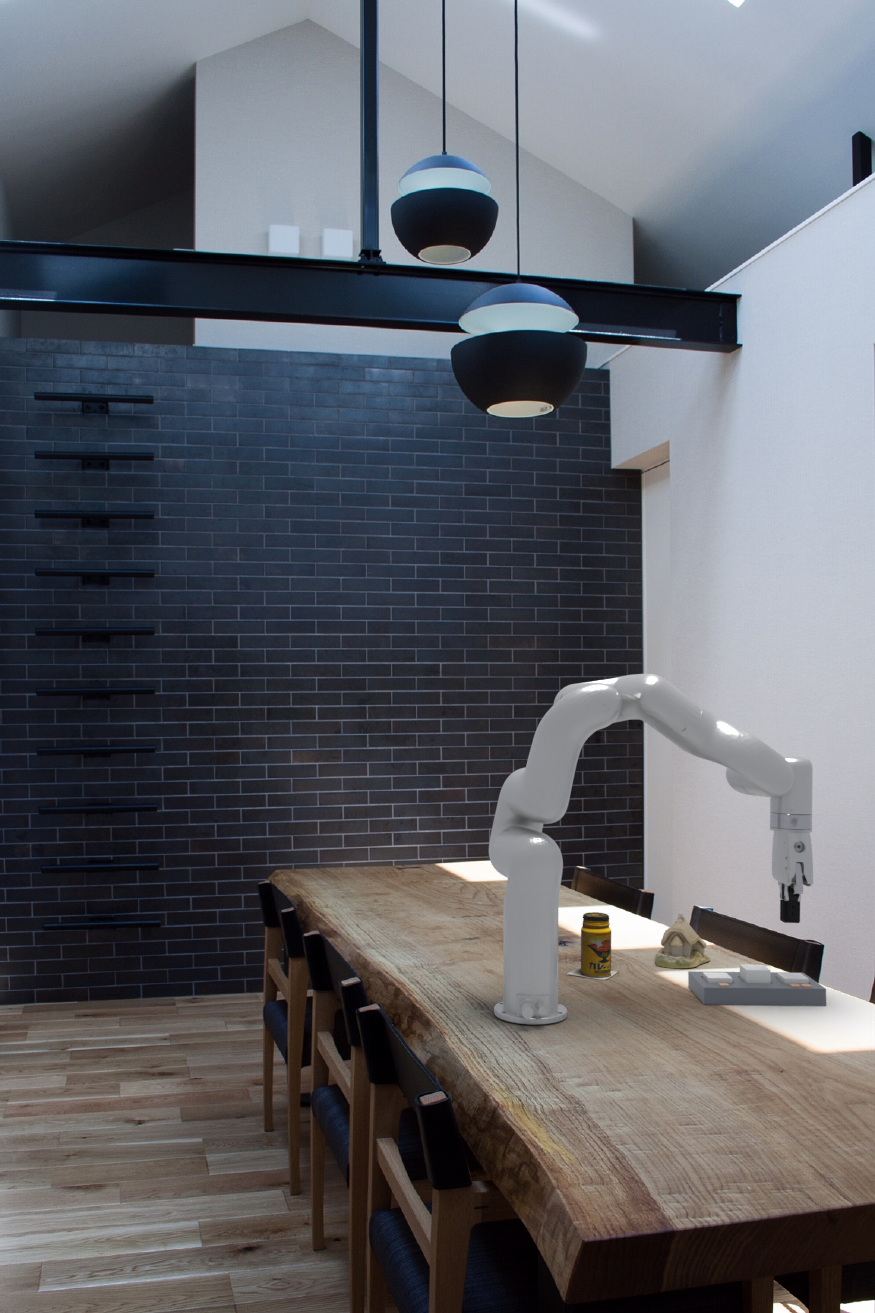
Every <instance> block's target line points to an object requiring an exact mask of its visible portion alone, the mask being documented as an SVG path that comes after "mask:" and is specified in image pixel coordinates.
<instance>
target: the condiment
mask: <svg viewBox="0 0 875 1313" xmlns="http://www.w3.org/2000/svg"><path fill="white" fill-rule="evenodd" d="M582 918H583V919H582V927H581V928H580V931H581V932H580V965H579V966H577V967H576V968H575V969H574V970H571V971H569V972H568V973H566V975H570V976H575V977H576V976H578V977H583V978H588V979H595V980H600V981H601V980H603V981H604V980H608V979H610V978H612V977H613V976H614V975H616V974H617V973H618V971H615V970H614V971H613V970H612V929H611V927H610V916H609V914H607V913H603V912H597V911H596V912H585V913H583V915H582Z"/></svg>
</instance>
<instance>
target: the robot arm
mask: <svg viewBox="0 0 875 1313" xmlns="http://www.w3.org/2000/svg"><path fill="white" fill-rule="evenodd" d="M628 720H640V721H642V722H644V723H645V724H646V725H648V726H650V727H651V728H652V729H653V730H655V731H657V732H658V733H659V734H661V736H663V737H664V738H666V739H668V740H669V741H670V742H671V743H673V744H674V745H676V746H677V748H679V749H681V750H682V751H684V752H686V753H688V754H690V755H692V756H695V757H697V758H700V759H703V760H706V761H710V762H713V763H716V764H718V765H721V766H723V767H725V768H726V770H725V778H726V781H727V784H728V785H729V786H730V787H731V789H733V790H734V791H736V792H737V793H740V794H743V795H748V796H753V797H755V796H756V797H763V798H769V830H770V831H772V832H773V836H772V837H773V838H772V847H771V848H772V849H771V851H772V852H771V874H772V877H773V879H774V880H775V881H777V885H778V887H779V899H780V900H779V902H780V904H779V920H780V921H781V922H783V923H784V924H785V923H786V924H787V923H788V924H799V923H800V922H801V898H802V895H803V894H804V886H806V887H812V886H813V884H814V863H813V861H814V860H813V859H814V858H813V848H812V838H811V833H813V773H814V771H813V763H812V761H811V760H810V759H809V758H807V757H798V756H797V757H796V756H782V754H780V753H779V752H777V751H776V750H775V749H773V748H772V747H771V746H770V745H768V744H767V743H765V742H764V741H762V740H761V739H759V738H757V737H756V736H755V735H753V734H751V733H749V732H747V731H745V730H743V729H742V728H740V727H737V726H736V725H734V724H732V723H730V722H729V721H727V720H725V719H723V718H721V717H719V716H716V715H715V714H713V713H711V712H710V711H708V710H707V709H706V708H705V707H703V706H702V705H700V704H699V703H698V702H697V701H695V700H694V699H693V698H692V697H690V696H688V694H686V693H685V692H683V691H682V690H681V689H679V688H678V687H677V686H675V685H674V684H673V683H671V682H670V681H668V680H667V679H666V678H664V677H663V676H660V675H658V674H656V673H638V674H637V673H636V674H627V675H621V676H618V677H613V678H606V679H605V678H604V679H599V680H592V681H586V682H579V683H572V684H568V685H566V686H564V687H563V688H562V689H560V690H559V691H558V693H557V694H556V695H555V698H554V701H553V705H552V706H551V707H550V708H549V709H548V710H547V711H546V713H545V714H544V715H543V717H542V718H541V720H540V721H539V724H538V725H537V727H536V730H535V733H534V735H533V739H532V743H531V747H530V750H529V754H528V757H527V760H526V762H527V763H526V766H525V767H522V768H519V769H517V770H514V771H513V772H512V773H511V774H509V776H508V777H506V779H505V781H504V783H503V784H502V787H501V790H500V793H499V796H498V801H497V805H496V809H495V813H494V816H493V821H492V822H493V823H492V827H491V831H490V837H489V842H488V856H489V860H490V863H491V866H492V868H494V869H495V871H496V872H498V873H499V874H500V875H501V876H503V877H505V878H507V881H506V886H505V887H506V888H505V892H504V893H505V894H504V900H503V910H502V911H503V913H502V914H503V918H502V919H503V920H502V921H503V922H502V924H503V936H502V937H503V938H502V939H503V940H502V941H503V942H502V943H503V946H502V947H503V950H502V951H503V953H502V954H503V957H502V959H503V962H502V963H503V964H502V966H503V967H502V968H503V969H502V970H503V972H502V978H503V979H502V985H503V986H502V987H503V988H502V1001H500V1002H497V1003H496V1004H494V1007H493V1014H494V1015H495V1016H496V1017H497V1018H498V1019H500V1020H503V1021H504V1022H509V1023H514V1024H521V1025H531V1026H532V1025H538V1026H539V1025H549V1024H554V1023H560V1022H562V1021H563V1020H565V1019H566V1018H567V1016H568V1008H566V1006H565V1005H563V1004H561V1003H559V903H560V890H561V885H562V884H561V883H562V878H563V869H564V861H563V859H564V858H563V855H562V852H561V850H560V847H559V846H558V844H557V843H556V841H555V840H554V839H553V838H551V836H549V835H548V834H546V833H544V832H543V828H544V825H549V824H553V823H557V822H558V821H560V820H561V819H562V818H563V817H564V816H565V814H566V812H567V810H568V808H569V803H570V799H571V798H570V797H571V792H572V787H573V783H574V782H573V781H574V778H575V772H576V769H577V764H578V760H579V758H580V754H581V751H582V748H583V746H584V744H585V743H586V741H587V740H588V738H590V737H591V736H592V735H593V734H594V733H595V732H596V731H599V730H602V729H605V728H607V727H609V726H610V725H612V724H614V723H619V722H625V721H628Z"/></svg>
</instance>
